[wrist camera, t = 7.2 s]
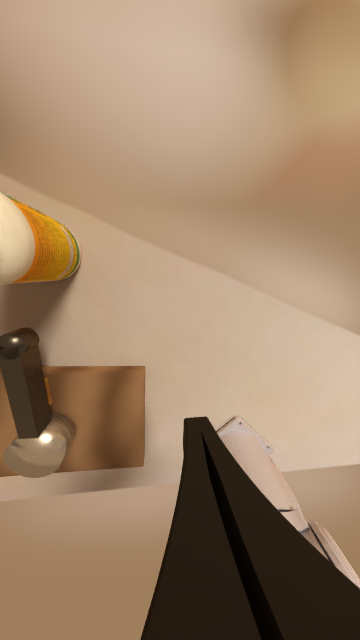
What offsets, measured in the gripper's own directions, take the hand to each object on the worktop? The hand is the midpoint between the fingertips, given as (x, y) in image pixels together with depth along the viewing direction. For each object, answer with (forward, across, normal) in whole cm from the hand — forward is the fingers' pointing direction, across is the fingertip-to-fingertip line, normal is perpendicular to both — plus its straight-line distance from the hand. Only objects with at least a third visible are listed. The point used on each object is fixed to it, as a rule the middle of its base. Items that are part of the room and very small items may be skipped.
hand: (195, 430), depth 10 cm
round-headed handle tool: (+9, +14, +4) cm, 17 cm away
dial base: (+10, +14, +8) cm, 19 cm away
